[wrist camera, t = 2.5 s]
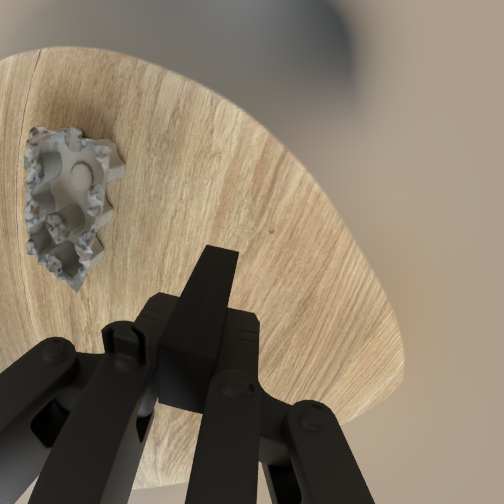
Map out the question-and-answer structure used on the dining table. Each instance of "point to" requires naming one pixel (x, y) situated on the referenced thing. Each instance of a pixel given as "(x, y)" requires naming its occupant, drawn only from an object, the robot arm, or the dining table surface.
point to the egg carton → (68, 199)
